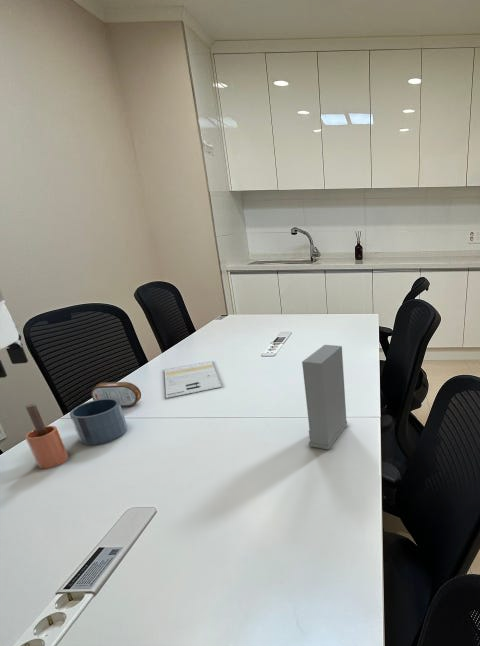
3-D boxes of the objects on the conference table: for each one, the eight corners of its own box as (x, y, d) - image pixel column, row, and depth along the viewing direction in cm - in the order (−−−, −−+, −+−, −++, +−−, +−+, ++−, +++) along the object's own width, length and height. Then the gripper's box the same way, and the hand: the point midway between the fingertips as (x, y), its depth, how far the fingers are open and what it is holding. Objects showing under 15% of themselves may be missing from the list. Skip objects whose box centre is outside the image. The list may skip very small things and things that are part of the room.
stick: (47, 461, 101) (23, 408, 95) (51, 457, 103) (27, 404, 97) (56, 460, 102) (33, 406, 95) (59, 456, 104) (37, 403, 97)
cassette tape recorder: (328, 422, 118) (321, 344, 108) (347, 425, 116) (342, 345, 106) (308, 446, 106) (298, 361, 96) (328, 450, 104) (321, 363, 94)
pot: (73, 449, 108) (62, 420, 104) (88, 428, 118) (78, 401, 115) (122, 441, 111) (112, 413, 107) (132, 421, 122) (124, 395, 118)
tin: (144, 402, 134) (137, 380, 130) (140, 406, 131) (133, 384, 127) (99, 404, 133) (91, 382, 130) (94, 409, 130) (86, 386, 127)
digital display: (211, 361, 168) (221, 386, 144) (211, 362, 168) (221, 386, 144) (164, 369, 161) (166, 397, 136) (164, 370, 161) (166, 398, 136)
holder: (33, 470, 99) (19, 440, 95) (45, 456, 105) (32, 428, 101) (62, 465, 101) (50, 436, 97) (72, 452, 106) (60, 424, 103)
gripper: (-18, 292, 92) (10, 359, 99) (-70, 307, 77) (-33, 386, 84) (20, 290, 94) (45, 356, 101) (-23, 304, 79) (9, 381, 86)
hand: (10, 370), depth 92 cm, fingers open, 9 cm apart
